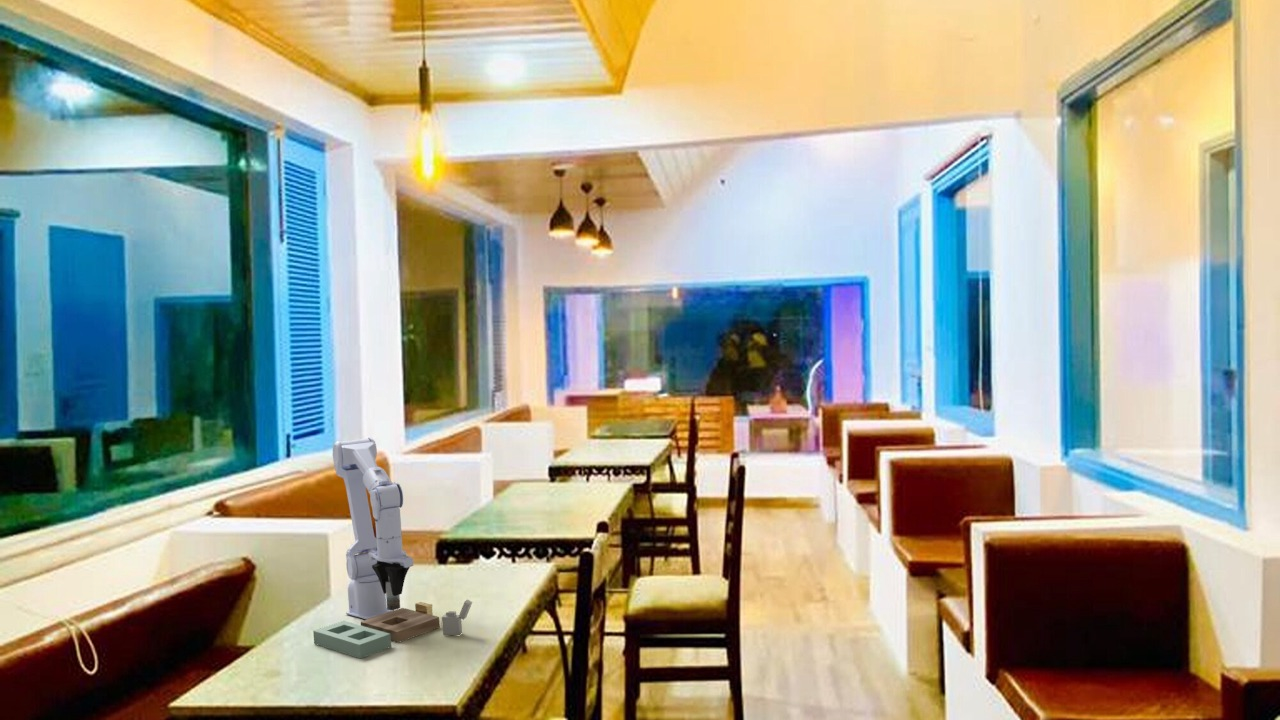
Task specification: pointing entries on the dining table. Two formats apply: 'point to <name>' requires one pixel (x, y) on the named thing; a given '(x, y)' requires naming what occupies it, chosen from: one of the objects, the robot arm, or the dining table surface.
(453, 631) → the lighter
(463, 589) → the dining table surface
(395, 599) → the grey stepped cylinder
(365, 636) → the drill rack
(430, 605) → the light wooden block
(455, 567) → the dining table surface
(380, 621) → the socket block
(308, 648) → the dining table surface
